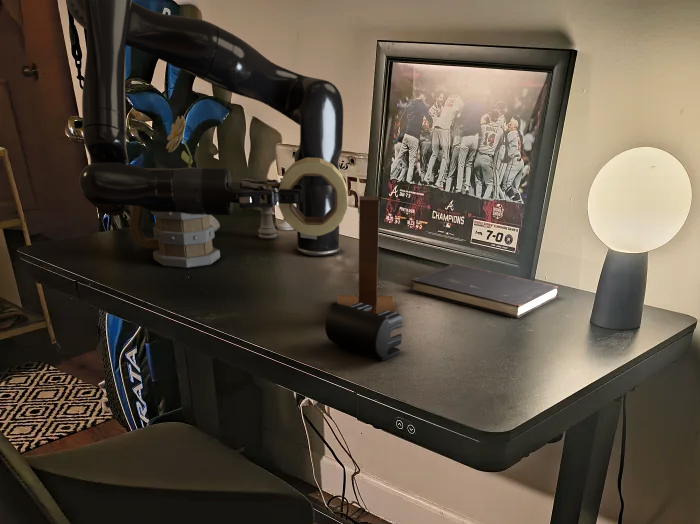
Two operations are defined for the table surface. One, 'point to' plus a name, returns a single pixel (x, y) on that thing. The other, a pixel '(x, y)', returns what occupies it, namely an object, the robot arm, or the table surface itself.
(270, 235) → the rook chess piece
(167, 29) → the robot arm
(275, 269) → the table surface
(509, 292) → the hardcover book
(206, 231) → the tankard
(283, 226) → the chess piece
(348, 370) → the table surface
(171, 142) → the flower in vase
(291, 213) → the masking tape
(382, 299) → the stand
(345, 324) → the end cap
